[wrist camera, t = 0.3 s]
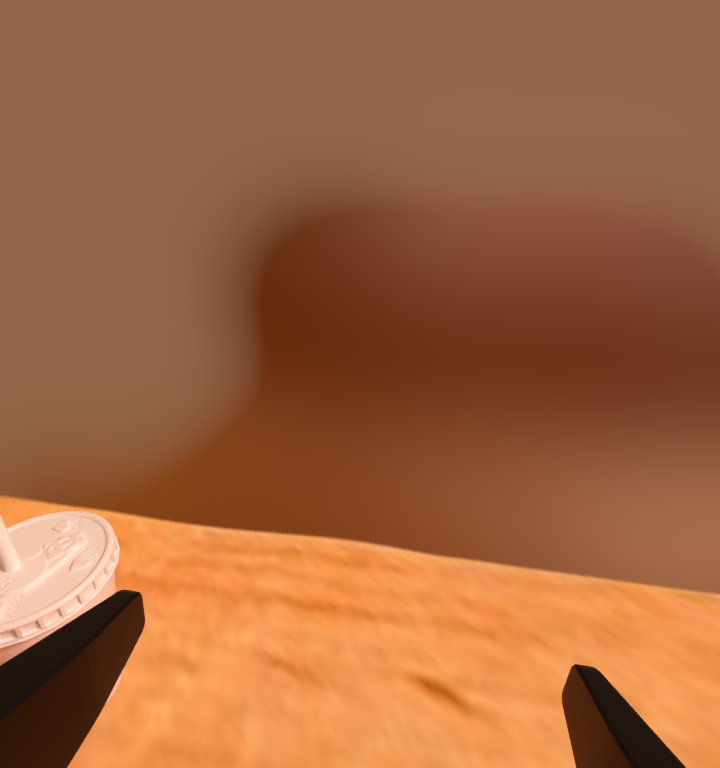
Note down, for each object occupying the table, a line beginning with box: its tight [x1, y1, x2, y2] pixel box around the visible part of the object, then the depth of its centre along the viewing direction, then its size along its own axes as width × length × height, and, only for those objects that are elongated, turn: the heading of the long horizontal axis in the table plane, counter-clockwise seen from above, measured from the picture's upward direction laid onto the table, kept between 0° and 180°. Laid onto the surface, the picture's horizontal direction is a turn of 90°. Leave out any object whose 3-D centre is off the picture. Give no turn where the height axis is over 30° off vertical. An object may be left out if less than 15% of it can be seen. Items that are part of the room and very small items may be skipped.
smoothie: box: [0, 511, 123, 704], centre depth 18 cm, size 6×6×14 cm
